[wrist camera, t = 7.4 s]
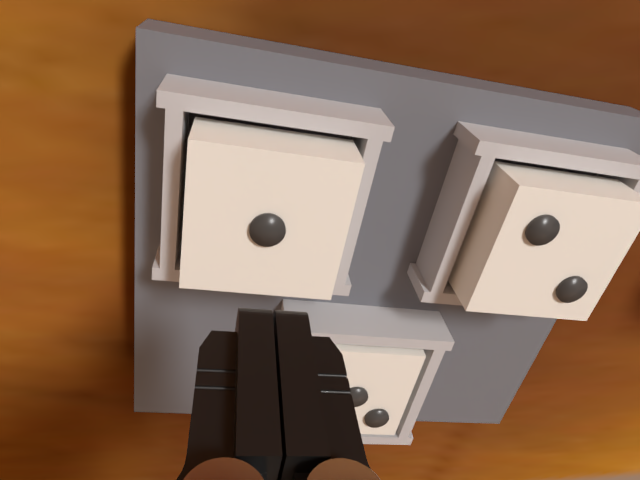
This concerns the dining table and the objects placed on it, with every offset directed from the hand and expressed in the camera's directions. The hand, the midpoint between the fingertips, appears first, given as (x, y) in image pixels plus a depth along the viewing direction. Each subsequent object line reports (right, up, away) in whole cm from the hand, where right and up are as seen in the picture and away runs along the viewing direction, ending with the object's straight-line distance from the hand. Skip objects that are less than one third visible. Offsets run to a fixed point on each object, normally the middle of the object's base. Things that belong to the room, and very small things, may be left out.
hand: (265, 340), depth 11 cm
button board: (+3, +1, +12) cm, 12 cm away
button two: (+9, +3, +8) cm, 12 cm away
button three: (+2, -4, +12) cm, 13 cm away
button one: (-1, +4, +6) cm, 7 cm away
